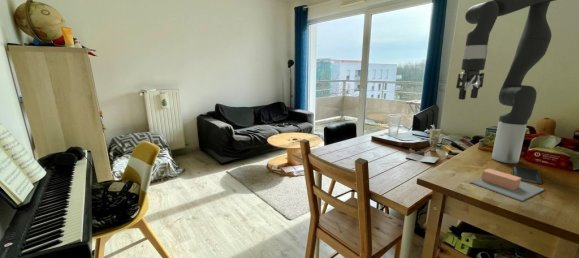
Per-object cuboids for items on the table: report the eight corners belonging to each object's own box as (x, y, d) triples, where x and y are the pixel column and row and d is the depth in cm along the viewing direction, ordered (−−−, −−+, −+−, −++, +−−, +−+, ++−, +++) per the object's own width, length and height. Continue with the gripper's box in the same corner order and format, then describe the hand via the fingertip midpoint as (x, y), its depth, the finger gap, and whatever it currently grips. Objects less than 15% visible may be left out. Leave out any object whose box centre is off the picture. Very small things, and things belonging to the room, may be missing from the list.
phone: (512, 176, 93) (513, 165, 104) (512, 179, 94) (512, 167, 105) (542, 183, 88) (539, 170, 99) (541, 185, 89) (538, 172, 100)
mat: (493, 174, 98) (493, 173, 98) (544, 190, 85) (544, 189, 85) (469, 182, 91) (470, 181, 90) (522, 201, 78) (522, 200, 78)
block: (515, 180, 83) (482, 170, 91) (513, 190, 84) (481, 179, 92) (521, 177, 85) (489, 168, 93) (519, 187, 86) (487, 177, 94)
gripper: (473, 58, 105) (467, 96, 109) (453, 58, 99) (447, 98, 103) (494, 57, 99) (487, 98, 103) (474, 57, 92) (467, 100, 96)
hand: (467, 98), depth 103 cm, fingers open, 8 cm apart
